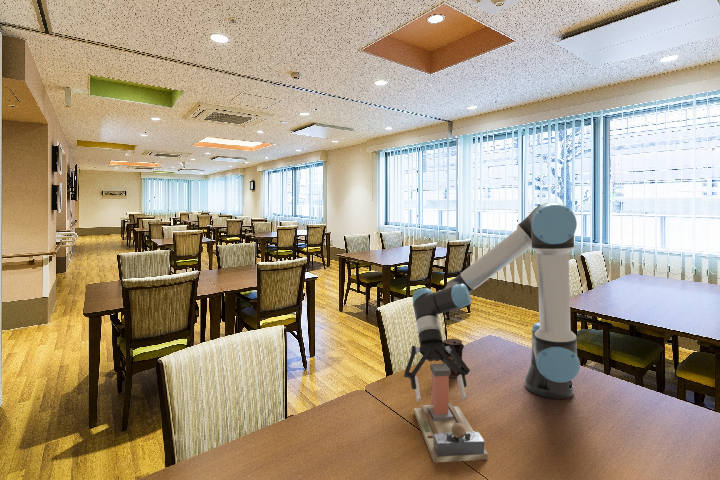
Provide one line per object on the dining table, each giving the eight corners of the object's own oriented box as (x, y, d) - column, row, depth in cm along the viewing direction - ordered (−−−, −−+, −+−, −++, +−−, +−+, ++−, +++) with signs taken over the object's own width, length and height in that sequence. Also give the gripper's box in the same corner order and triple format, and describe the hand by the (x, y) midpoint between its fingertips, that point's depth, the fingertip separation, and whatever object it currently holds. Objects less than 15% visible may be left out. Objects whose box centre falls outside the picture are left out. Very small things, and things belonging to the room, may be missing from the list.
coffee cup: (464, 380, 139) (464, 346, 138) (441, 378, 141) (441, 344, 140) (462, 370, 148) (463, 337, 147) (440, 368, 150) (441, 336, 148)
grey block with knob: (478, 444, 100) (478, 427, 100) (483, 454, 96) (484, 436, 96) (433, 446, 99) (433, 429, 99) (437, 456, 95) (437, 439, 95)
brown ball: (462, 432, 99) (463, 419, 99) (467, 441, 96) (468, 427, 95) (449, 433, 99) (449, 420, 99) (453, 442, 96) (454, 428, 95)
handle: (446, 407, 118) (446, 362, 117) (453, 419, 111) (453, 372, 110) (421, 408, 118) (421, 363, 116) (427, 421, 111) (427, 373, 110)
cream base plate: (458, 410, 119) (458, 402, 119) (487, 459, 96) (487, 449, 96) (414, 412, 118) (414, 404, 118) (433, 462, 96) (433, 452, 95)
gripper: (463, 336, 129) (479, 401, 116) (390, 338, 128) (398, 404, 114) (469, 326, 124) (486, 393, 110) (393, 328, 122) (401, 396, 108)
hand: (441, 399), depth 112 cm, fingers open, 13 cm apart
